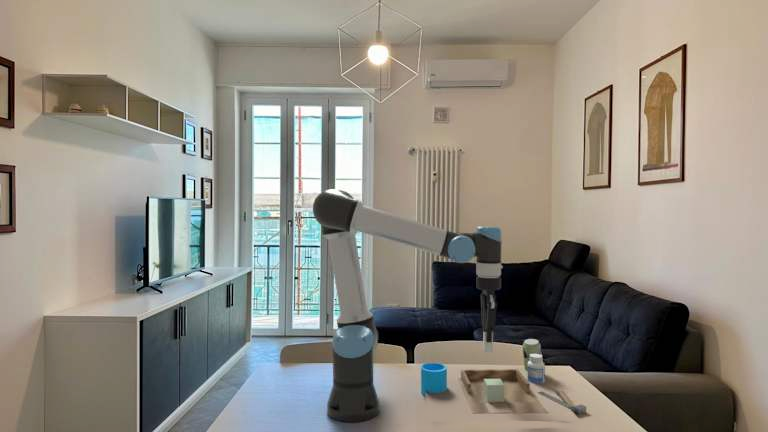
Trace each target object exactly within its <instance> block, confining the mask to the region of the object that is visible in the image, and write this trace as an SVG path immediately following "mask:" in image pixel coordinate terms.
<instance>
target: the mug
mask: <svg viewBox="0 0 768 432" xmlns="http://www.w3.org/2000/svg"><path fill="white" fill-rule="evenodd" d="M447 370H448V369H447V366H446V365H445V364H444V363H443V364H442V363H439V362H428V363H424V364H421V366H420V393H421V395H422V396H423V397H426V393H431V394H439V393H444V392H445V391H447V389H448V380H447V379H448V377H447V375H448V372H447Z"/></svg>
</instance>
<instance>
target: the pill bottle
mask: <svg viewBox="0 0 768 432" xmlns="http://www.w3.org/2000/svg"><path fill="white" fill-rule="evenodd" d="M545 366H546V365H545V362H543V355H542V354H541V355H540V354H530V361H528V371H527V381H528V382H529V383H534V384H544V383H545V382H546V380H545V379H546V377H545V373H546V368H545Z"/></svg>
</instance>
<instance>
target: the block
mask: <svg viewBox="0 0 768 432" xmlns="http://www.w3.org/2000/svg"><path fill="white" fill-rule="evenodd" d="M484 397H485V398H486V400H487V402H504V384H503V382H502V381H501V379H484Z"/></svg>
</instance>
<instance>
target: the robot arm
mask: <svg viewBox="0 0 768 432" xmlns="http://www.w3.org/2000/svg"><path fill="white" fill-rule="evenodd" d="M312 204H313V205H312V213H313V216H314V218H315V220H316V222H318V223H319V225H320V226H321V231H322V237H324V238H325V239H326V240H328V246H329V251H330V257H331V264H332V271H333V277H334V281H335V287H336V294H337V295H336V296H337V301H338V305H339V306H338V307H339V313H340V314H339V316H338V318H337V319H336V324H337V329H336V330H335V331H334V333H333V336H332V342H331V345H332V386H331V391H330V395H329V397H328V400H327V404H326V405H327V406H326V407H327V409H326V413H327V415H328V416H329V417H330V418H332V419H333V420H336V421H339V422H345V423H356V422H357V423H358V422H359V423H360V422H365V421H368V420H372V419H373V418H375V417H376V416H377V415H378V414H379V413H380V399H379V397H378V394H377V390H376V387H375V384H374V356H375V352H376V348H377V346H378V343H379V332H378V330H377V327H376V325H375V319H374V315H373V313H372V312H371V311H370V310H369V309H368V306H367V305H368V304H367V300H366V294H365V288H364V282H363V275H362V269H361V264H360V257H359V251H358V246H357V238H356V236H357V234H358V232H360V233H363V234H367V235H369V236H373V237H376V238H380V239H383V240H387V241H390V242H393V243H396V244H401V245H403V246H406V247H410V248H412V249H416V250H420V251H423V252H427V253H430V254H434V255H436V256H439V257H442V258H446V259H448V260H449V259H450V260H452V261H453V262H456V263H459V264H465V263H468V262H470V261H471V260H473V258H475V257H476V261H475V262H476V263H475V265H476V266H475V267H476V268H475V269H476V270H475V271H476V272H475V273H476V279H475V281H476V282H475V284H476V288H477V289H478V290H480V291H482V293H481V294H480V296H479V298H480V308H481V310H480V311H481V312H480V313H481V326H482V330H481V331H482V332H483V333H482V334H483V335H482V337H483V338H482V343H483V344H482V349H483V350H482V351H483V353H494V332H495V331H496V320H497V319H496V318H497V309H498V308H497V307H498V302H497V295H495V292H496V291H499V290H501V289H502V278H501V275H502V269H503V265H502V243H503V241H502V230H501V228H500V227H498V226H489V225H488V226H477V228H476V230H475V232H453V231H449V230H447V229H442V228H439V227H436V226H434V225H429V224H428V223H427V224H426V223H422V222H419V221H416V220H414V219H409V218H407V217H403V216H400V215H397V214H393V213H390V212H386V211H384V210H380V209H378V208H373V207H369V206H367V205H364V203H363V202H362V200H358V199H355V198H354V196H353V195H351V194H350V193H349V192H347V191H344V190H341V189H327V190H323V191H322V192H320V193H319V194H318V195H317V196H316V198H315V199H314V201H313V203H312Z"/></svg>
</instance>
